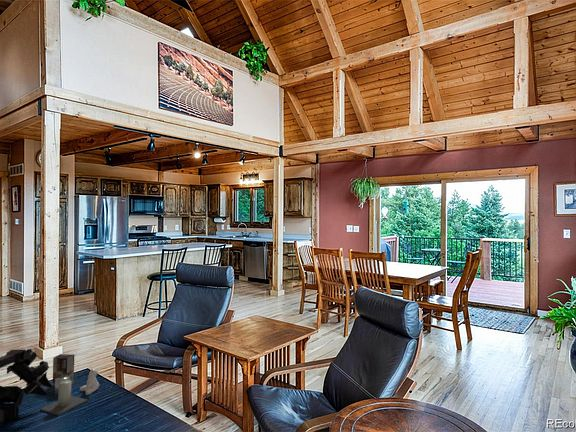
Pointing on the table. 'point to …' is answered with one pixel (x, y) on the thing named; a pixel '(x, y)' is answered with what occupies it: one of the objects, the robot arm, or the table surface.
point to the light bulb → (64, 393)
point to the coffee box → (63, 366)
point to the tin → (58, 380)
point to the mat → (58, 410)
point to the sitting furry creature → (91, 383)
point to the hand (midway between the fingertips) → (49, 390)
